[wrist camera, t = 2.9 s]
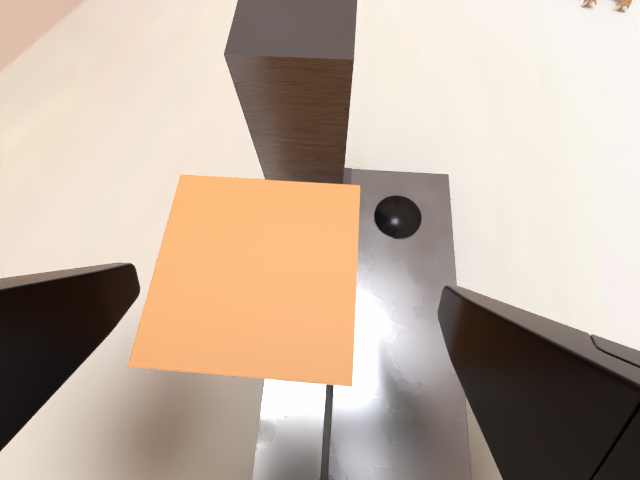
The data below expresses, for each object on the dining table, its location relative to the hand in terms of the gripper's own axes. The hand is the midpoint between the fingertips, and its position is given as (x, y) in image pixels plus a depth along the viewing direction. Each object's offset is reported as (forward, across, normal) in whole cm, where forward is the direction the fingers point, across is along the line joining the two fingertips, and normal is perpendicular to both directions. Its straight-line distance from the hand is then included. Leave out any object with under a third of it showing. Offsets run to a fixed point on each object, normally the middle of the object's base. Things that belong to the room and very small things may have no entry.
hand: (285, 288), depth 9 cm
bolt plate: (+4, +5, -7) cm, 10 cm away
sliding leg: (+4, 0, -5) cm, 6 cm away
